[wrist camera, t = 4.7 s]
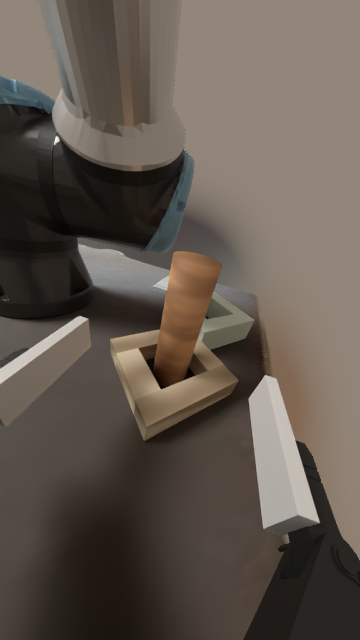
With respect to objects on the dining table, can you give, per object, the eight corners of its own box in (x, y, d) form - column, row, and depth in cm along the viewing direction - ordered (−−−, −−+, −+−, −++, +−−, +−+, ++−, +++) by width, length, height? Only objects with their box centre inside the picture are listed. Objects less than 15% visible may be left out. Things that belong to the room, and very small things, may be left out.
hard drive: (172, 272, 50) (152, 285, 40) (199, 281, 49) (186, 296, 38) (171, 278, 51) (151, 291, 41) (197, 286, 50) (184, 303, 39)
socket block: (162, 313, 33) (165, 294, 31) (207, 307, 39) (212, 290, 37) (196, 354, 26) (204, 332, 23) (245, 338, 31) (254, 320, 29)
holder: (110, 354, 22) (110, 339, 21) (182, 337, 28) (185, 324, 27) (143, 441, 15) (146, 426, 14) (230, 393, 21) (238, 380, 20)
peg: (147, 366, 22) (164, 249, 14) (174, 358, 24) (202, 252, 17) (161, 392, 19) (191, 267, 12) (190, 380, 21) (232, 268, 14)
